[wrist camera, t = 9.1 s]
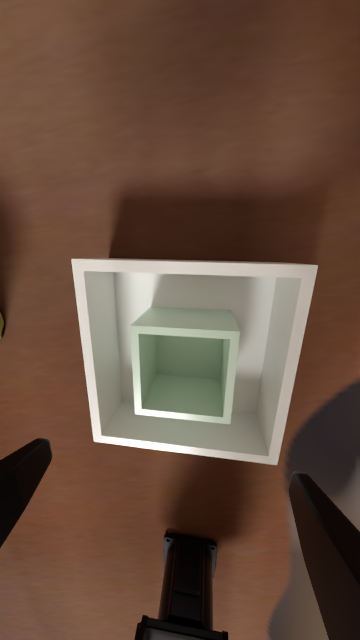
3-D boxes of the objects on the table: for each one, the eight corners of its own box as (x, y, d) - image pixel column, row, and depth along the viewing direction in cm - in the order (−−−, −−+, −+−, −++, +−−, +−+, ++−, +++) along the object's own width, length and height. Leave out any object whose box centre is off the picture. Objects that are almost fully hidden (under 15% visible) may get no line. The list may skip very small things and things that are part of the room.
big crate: (260, 415, 20) (277, 465, 15) (118, 400, 22) (93, 441, 17) (285, 262, 16) (318, 265, 11) (108, 258, 18) (71, 258, 13)
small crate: (224, 381, 19) (230, 424, 14) (152, 375, 19) (134, 414, 15) (231, 310, 17) (240, 331, 12) (151, 306, 18) (129, 325, 13)
